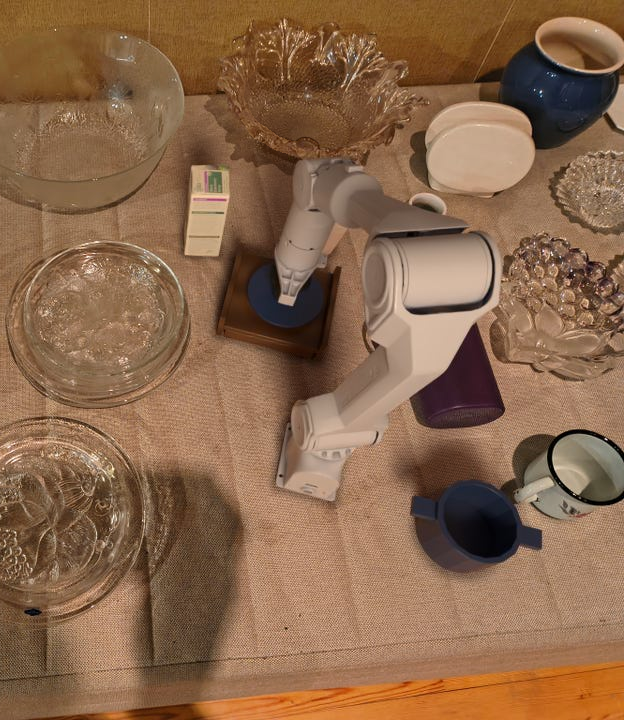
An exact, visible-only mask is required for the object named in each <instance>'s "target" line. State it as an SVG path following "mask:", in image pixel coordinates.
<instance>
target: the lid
mask: <svg viewBox="0 0 624 720" xmlns="http://www.w3.org/2000/svg"><path fill="white" fill-rule="evenodd" d="M272 265H275V266H276V263H271V264H268V265H265V266H263V267H261V268H260V269H258V270H257V271H256V272H255V273H254V274H253V276H252V277H251V279H250V281H249V284H248V289H247V295H248V300H249V303H250V305H251V307H252V309H253V310H254V311H255V313H256V314H257V315H258V316H259V317H261V318H262V319H263V320H265V321H266V322H268V323H270V324H272V325H275V326H279V327H285V328H294V327H300V326H303V325H306V324H308V323H309V322H311V321H312V320H314V319H315V318H316V317H317V315H318V314H319V312H320V311H321V308H322V306H323V301H324V295H323V290H322V287H321V285H320V283H319V282H318V280H317V279H316V278H315V276H314V275H313V274H311V275H310V277H312V280H311V285H310V287H309V289H308V290H307V291H303V292H299V293H297V297H296V300H295V302H294V304H293V306H290V305H285V304H282V303H278V300H275V299H274V295H273V293H274V287H273V284H272V283H271V282H270V272H271V268H272Z"/></svg>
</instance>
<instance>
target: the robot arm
mask: <svg viewBox="0 0 624 720" xmlns="http://www.w3.org/2000/svg"><path fill="white" fill-rule="evenodd" d="M384 193H385V192H384V189H383V186H382V184H381V182H380V181H379V180H378V179H377V178H376V177H375V176H373V175H371V174H368V173H366V172H365V171H364V166H363V165H362V164H360V163H357V162H356V161H355V160H353V159H350V157H349V156H347V155H343V156H329V157H311V158H303V159H298V161H296V164H295V166H294V169H293V173H292V195H293V200H292V203H291V205H290V209H289V211H288V214H287V218H286V221H285V224H284V227H283V229H282V232H281V234H280V235H281V236H280V238H279V239H278V241H277V243H276V245H275V248H274V252H273V256H274V259H275V262H276V266H275V265H272V268H271V272H270V282H271V283H272V284H273V287H274V293H273V295H274V299H275V300H278V303H282V304H285V305H290V306H293V304H294V302H295V300H296V297H297V293H299V292H303V291H307V290H308V289H309V287H310V285H311V280H312V277H310V275H311V274H312V273H313V271H314V270H315V269H317V268H318V269H324V268H325V267H326V266H327V263H328V260H329V259H328V258H329V255H327V254H325V253H322V251H323V249H324V246H325V244H326V242H327V240H328V237H329V235H330V233H331V231H332V229H333V226H334V224H335V222H336V223H338V224H339V225H341V226H343V227H345V228H348V230H349V229H351V230H352V229H353V230H354V229H362V230H363V231H364V232H365V233H366V234H367V235H368V236H367V239H366V241H365V245H364V249H363V254H362V259H361V264H360V284H361V289H362V299H363V309H364V310H363V311H364V322H365V325H366V332H367V338H368V339H369V340H371V341H373V342H375V343H376V344H378V346H377V347H376V348H375V349H374V350H373V351H372V352H371V353H369V355H367V356H366V358H365V359H364V360H363V361H362V362H361V363H360V364H359V365H358V366H357V367H356V368H355V369H354V370H353V371H351V373H350V374H349V375H348V376H347V377H346V378H345V379H344V380H343V381H342V382H341V383H340V384H339V385H338V386H336V388H335V389H334V390H332V391H330V392H326V393H322V394H318V395H315V396H312V397H308V398H307V399H306V400H305V399H298V400H297V401H295V403H294V405H293V406H292V408H291V413H290V422H289V421H288V422H287V424H286V427H285V431H284V436H283V442H282V447H281V452H280V457H279V463H278V467H277V468H278V469H277V472H276V477H275V482H274V483H275V486H276V487H278V488H282V489H285V490H288V491H292V492H295V493H299V494H302V495H307V496H310V497H314V498H317V499H319V500H325V501H327V502H334V501H335V499H336V495H337V490H338V489H339V487H340V485H341V482H342V474H343V469H344V466H345V463H346V462H347V460H348V459H349V457H350V455H351V454H352V453H354V451H355V450H357V449H359V448H362V447H363V446H371V447H372V446H373V447H375V446H378V445H379V444H380V443H381V441H382V439H383V438H384V436H385V435H384V434H385V432H386V431H387V430H388V429H389V428H390V423H391V422H390V416H389V413H390V412H392V411H393V410H395V409H396V408H397V407H398V406H400V405H402V404H403V403H404V402H406V401H407V400H409V399H410V398H411V397H412V396H414V395H415V394H417V393H418V392H419V391H421V390H422V389H423V388H425V387H426V386H428V385H429V384H431V383H432V382H433V381H435V380H436V379H437V378H439V377H440V376H441V375H442V374H444V373H445V372H446V371H447V369H448V368H449V366H450V365H451V363H452V361H453V359H454V358H455V356H456V354H457V353H458V351H459V349H460V347H461V345H462V344H463V342H464V340H465V338H466V337H467V334H468V333H469V332H470V329H472V326H473V325H475V324H477V322H478V321H480V320H481V319H482V318H483V317H485V316H486V315H487V314H489V313H490V312H491V311H493V309H495V308H497V306H498V305H499V304H500V297H501V291H502V290H501V289H502V288H501V287H502V278H503V273H504V272H503V271H504V263H503V256H502V253H501V250H500V247H499V246H498V244H497V242H496V240H495V239H494V237H493V236H492V235H490V233H488V232H487V231H484V230H481V229H478V230H477V229H476V230H470V231H468V232H465V231H466V230H467V229H469V228H471V227H472V225H470V223H468V222H467V221H466V220H465V219H462V218H458V217H455V216H451V215H447V214H442V213H439V212H435V211H431V210H430V211H429V210H427V209H424V208H421V207H418V206H416V205H413V204H411V203H408V202H405V201H403V200H400V199H397V198H395V197H392V196H390V195H387V194H384ZM463 232H464V233H463ZM289 429H290V430H289ZM280 475H281V477H280Z"/></svg>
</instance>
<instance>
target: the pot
mask: <svg viewBox="0 0 624 720" xmlns="http://www.w3.org/2000/svg"><path fill="white" fill-rule="evenodd" d="M409 515H410V516H411V517H415V518H416V519H415V532H416V537H417V539H418V542H419V545H420V547H421V548H422V551H424V553H425V554H426V556H427V557H428V558H429V559H430V560H431V561H433V562H434V564H436V565H437V566H439V567H441V568H442V569H445V570H447V571H450V572H452V573H456V574H471V573H475V572H479V571H482V570H486V569H488V568H491V567H494V566H496V565H499V564H502V563H504V562H506V561H507V560H509V559H511V558H512V557H514V556H515V555H516V554H517V552H518V549H519V547H523V548H527V549H530V550H533V551H536V552H538V551H541V550H543V530H542V529H539V528H536V527H532V526H528V525H525V524H523V521H522V519H521V516H520V513H519V510H518V508H517V506H516V505H515V504H514V502H513V501H512V500H511V499H510V498H509V496H508V495H507V494H506V493H505V492H504V491H502V490H501V489H499V488H498V487H496V486H495V485H493V484H491V483H489V482H485V481H483V480H479V479H474V478H472V479H471V478H470V479H462V480H457V481H455V482H454V483H452V484H451V485H449V486H447V487H446V488H444V489H442V490H441V491H440V492H438V493H436V494H435V495H434V496H432V497H430V498H427V497H423V496H420V495H416V494H414V495H413V496H411V500H410V511H409Z"/></svg>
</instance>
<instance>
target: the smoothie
mask: <svg viewBox="0 0 624 720" xmlns="http://www.w3.org/2000/svg"><path fill="white" fill-rule="evenodd" d="M348 230H349V228H345V227H343V226H341V225H339V224H338V223H336V222H335V224H334V226H333V229H332V231H331V233H330V235H329V237H328V240H327V242H326V244H325V246H324V249H323V251H322V253H325V254H327V256H329V255H330V254H331V253H332V252H333V250H334V249H335V248H336V246H338V244H339V243H340V241H341V239H342V238H343V237H344V235H345V234H346V232H347V231H348Z"/></svg>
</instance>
